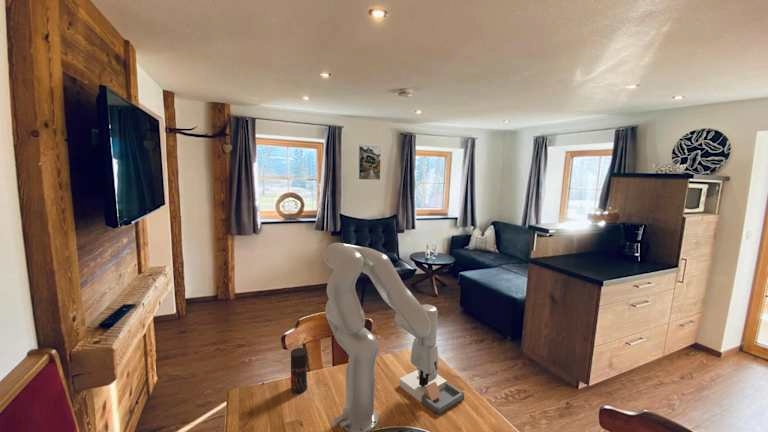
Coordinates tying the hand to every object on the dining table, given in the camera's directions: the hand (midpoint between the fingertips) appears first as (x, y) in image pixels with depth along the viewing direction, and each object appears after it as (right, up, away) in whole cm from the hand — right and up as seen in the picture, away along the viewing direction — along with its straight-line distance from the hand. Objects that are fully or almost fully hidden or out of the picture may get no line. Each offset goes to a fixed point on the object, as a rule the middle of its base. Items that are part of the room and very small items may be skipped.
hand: (423, 384), depth 127 cm
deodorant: (-47, -2, +1) cm, 47 cm away
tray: (+7, -4, -3) cm, 9 cm away
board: (0, -3, +5) cm, 6 cm away
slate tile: (+2, 0, +7) cm, 7 cm away
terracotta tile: (+2, -2, -2) cm, 4 cm away
